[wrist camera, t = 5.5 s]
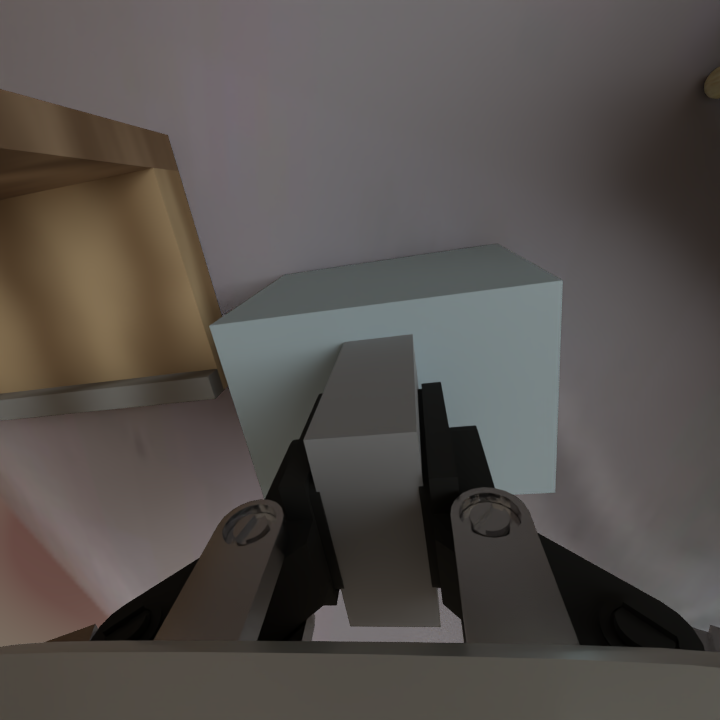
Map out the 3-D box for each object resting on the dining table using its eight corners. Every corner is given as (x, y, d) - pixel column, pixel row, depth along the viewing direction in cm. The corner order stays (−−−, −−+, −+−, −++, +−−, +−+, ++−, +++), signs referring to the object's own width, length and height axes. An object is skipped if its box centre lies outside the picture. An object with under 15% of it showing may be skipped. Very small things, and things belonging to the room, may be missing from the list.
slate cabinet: (497, 243, 17) (690, 352, 6) (500, 383, 20) (638, 659, 8) (284, 274, 19) (83, 410, 7) (313, 400, 22) (201, 651, 10)
